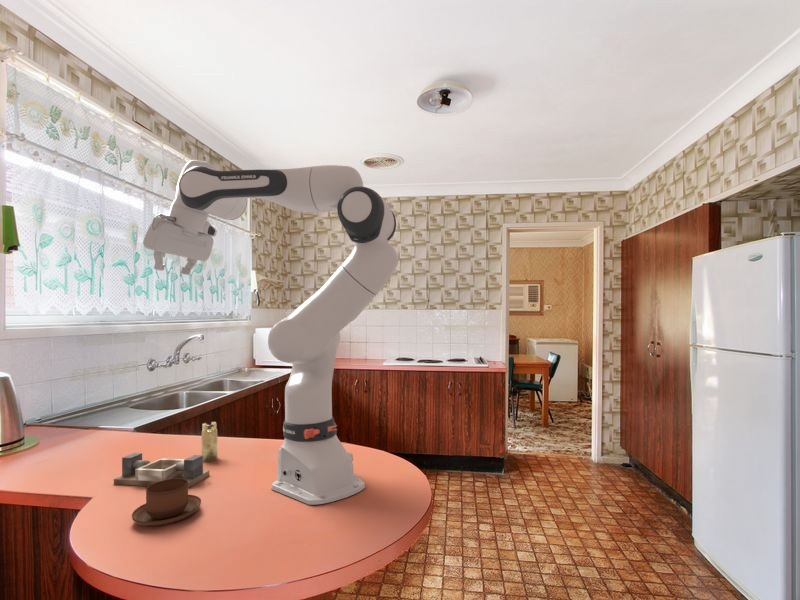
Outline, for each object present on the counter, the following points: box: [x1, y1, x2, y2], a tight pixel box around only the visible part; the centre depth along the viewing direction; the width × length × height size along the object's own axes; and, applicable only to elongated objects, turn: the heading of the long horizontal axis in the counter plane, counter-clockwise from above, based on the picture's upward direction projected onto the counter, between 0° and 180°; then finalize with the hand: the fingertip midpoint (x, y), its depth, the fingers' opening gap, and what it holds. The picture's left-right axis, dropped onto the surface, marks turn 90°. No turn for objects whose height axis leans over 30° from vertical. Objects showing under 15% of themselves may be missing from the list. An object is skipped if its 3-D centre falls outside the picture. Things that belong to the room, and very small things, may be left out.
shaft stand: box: [113, 452, 210, 489], centre depth 103 cm, size 20×8×6 cm, turn 79°
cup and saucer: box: [131, 478, 202, 527], centre depth 83 cm, size 12×12×6 cm
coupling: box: [201, 421, 218, 463], centre depth 118 cm, size 4×4×10 cm
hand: (172, 272), depth 110 cm, fingers open, 8 cm apart
